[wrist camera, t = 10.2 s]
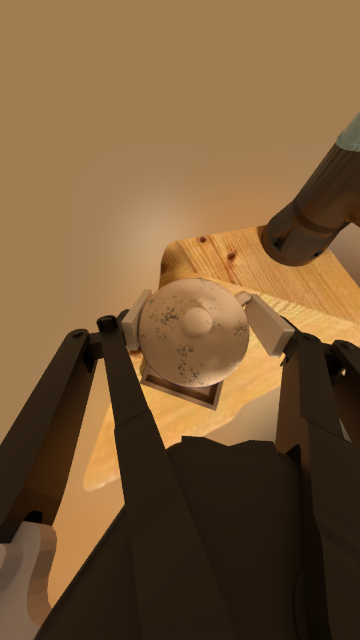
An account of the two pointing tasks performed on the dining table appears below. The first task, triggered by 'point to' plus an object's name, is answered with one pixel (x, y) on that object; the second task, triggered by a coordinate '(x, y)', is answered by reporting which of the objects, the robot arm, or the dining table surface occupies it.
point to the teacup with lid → (194, 332)
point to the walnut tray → (183, 389)
